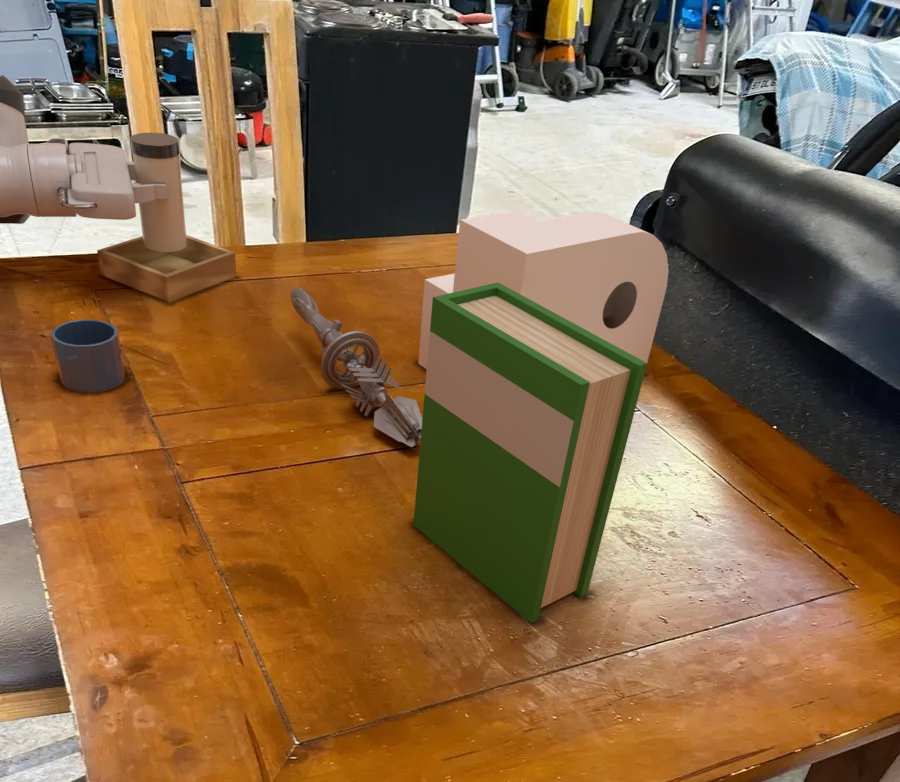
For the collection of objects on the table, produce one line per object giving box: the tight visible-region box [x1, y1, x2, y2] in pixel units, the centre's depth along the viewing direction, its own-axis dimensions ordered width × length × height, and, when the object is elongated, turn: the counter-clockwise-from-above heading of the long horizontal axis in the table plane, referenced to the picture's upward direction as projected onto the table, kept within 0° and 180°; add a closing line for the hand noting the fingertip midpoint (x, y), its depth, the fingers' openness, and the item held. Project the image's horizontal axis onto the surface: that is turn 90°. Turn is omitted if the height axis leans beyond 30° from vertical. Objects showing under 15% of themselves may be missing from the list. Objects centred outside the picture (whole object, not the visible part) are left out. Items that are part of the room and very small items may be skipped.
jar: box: [129, 132, 187, 252], centre depth 123 cm, size 6×6×14 cm
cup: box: [50, 318, 126, 394], centre depth 104 cm, size 7×7×6 cm
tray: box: [96, 234, 237, 303], centre depth 130 cm, size 14×14×4 cm
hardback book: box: [412, 282, 648, 624], centre depth 80 cm, size 18×7×24 cm, turn 39°
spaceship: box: [290, 286, 423, 449], centre depth 108 cm, size 8×35×8 cm
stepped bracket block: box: [417, 209, 670, 370], centre depth 113 cm, size 26×17×20 cm, turn 128°
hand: (165, 181), depth 122 cm, fingers closed on jar, 6 cm apart
